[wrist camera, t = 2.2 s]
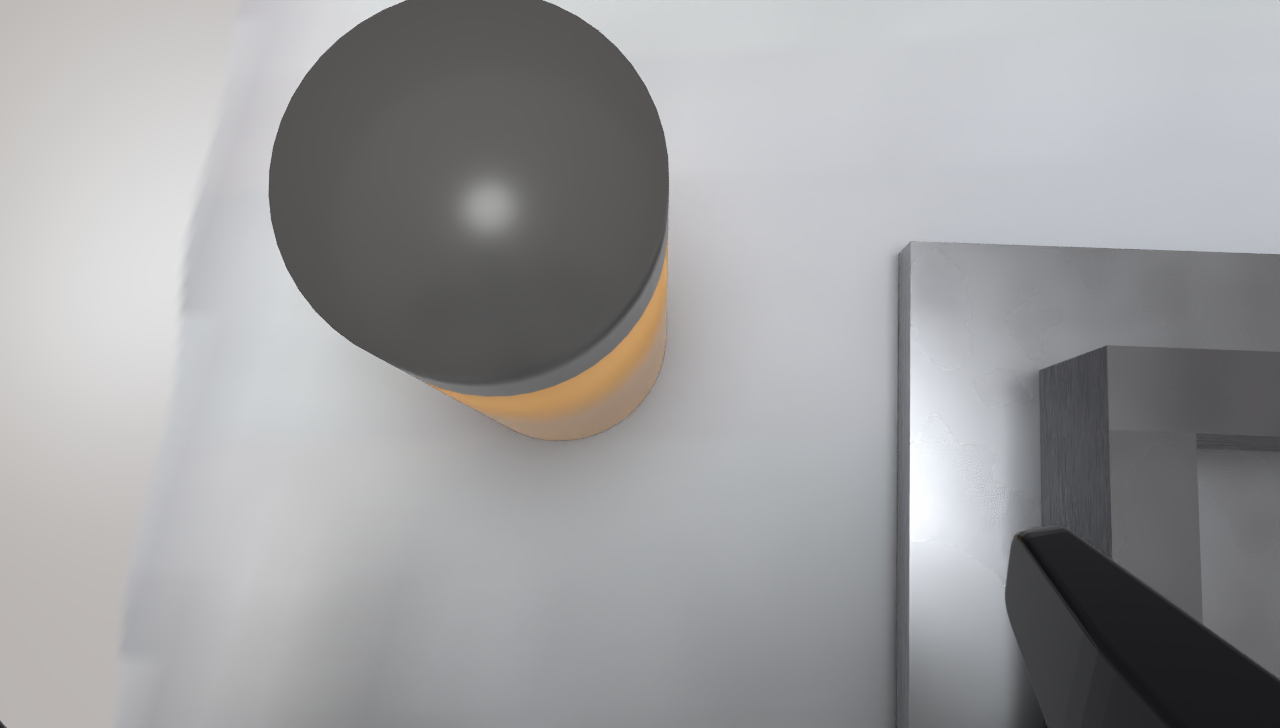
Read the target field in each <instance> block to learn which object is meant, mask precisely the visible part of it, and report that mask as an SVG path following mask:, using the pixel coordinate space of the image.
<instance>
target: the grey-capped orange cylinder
mask: <svg viewBox="0 0 1280 728" xmlns="http://www.w3.org/2000/svg"><path fill="white" fill-rule="evenodd" d="M668 202H669V172H668V154H667V148H666V142H665V136H664V131H663V128H662V125H661V122H660V119H659V115H658V112H657V109H656V107H655V105H654V103H653V100H652V98H651V96H650V94H649V92H648V90H647V88H646V86H645V84H644V83H643V81H642V80H641V78H640V76H639V75H638V73H637V72H636V70H635V69H634V67H633V66H632V64H631V63H630V62H629V61H628V60H627V59H626V57H625V56H624V55H623V54H622V53H621V52H620V50H619V49H618V48H617V47H616V46H615V45H614V44H613V43H612V42H610V41H609V40H608V39H607V38H606V37H605V36H604V35H603V34H602V33H600V32H599V31H598V30H597V29H595V28H594V27H592V26H591V25H590V24H588V23H587V22H585V21H584V20H582V19H581V18H579V17H578V16H576V15H574V14H572V13H570V12H568V11H566V10H564V9H562V8H560V7H558V6H556V5H554V4H551V3H548V2H546V1H543V0H406V1H404V2H401V3H399V4H397V5H394V6H392V7H389V8H387V9H385V10H382V11H381V12H379V13H377V14H375V15H374V16H372V17H370V18H368V19H367V20H365V21H363V22H361V23H360V24H358V25H357V26H356V27H354V28H353V29H352V30H350V31H349V32H348V33H346V34H345V35H344V36H342V37H341V38H340V39H339V40H338V41H336V42H335V43H334V44H333V45H332V46H331V47H330V48H329V49H328V50H327V51H326V52H325V53H324V54H323V55H322V56H321V57H320V58H319V59H318V61H317V62H316V63H315V64H314V66H313V67H312V68H311V69H310V71H309V72H308V73H307V74H306V75H305V77H304V79H303V80H302V82H301V83H300V85H299V87H298V88H297V90H296V91H295V93H294V95H293V96H292V98H291V100H290V102H289V105H288V107H287V109H286V111H285V113H284V115H283V118H282V120H281V123H280V126H279V129H278V132H277V136H276V139H275V142H274V146H273V152H272V158H271V164H270V170H269V203H270V213H271V221H272V225H273V229H274V233H275V237H276V241H277V245H278V248H279V250H280V253H281V255H282V258H283V260H284V263H285V265H286V268H287V270H288V271H289V273H290V275H291V277H292V278H293V280H294V282H295V284H296V286H297V287H298V289H299V291H300V292H301V293H302V295H303V296H304V297H305V298H306V300H307V301H308V302H309V304H310V305H311V306H312V308H313V309H314V310H315V311H316V312H317V313H318V314H319V315H320V316H321V317H322V318H323V319H324V320H325V321H326V322H327V323H328V324H329V325H330V326H331V327H332V328H333V329H334V330H336V331H337V332H338V333H340V334H341V335H342V336H344V337H345V338H346V339H348V340H349V341H350V342H352V343H353V344H355V345H357V346H358V347H360V348H362V349H364V350H366V351H367V352H369V353H371V354H373V355H375V356H376V357H378V358H380V359H382V360H384V361H386V362H388V363H389V364H391V365H393V366H395V367H397V368H399V369H401V370H402V371H404V372H406V373H408V374H410V375H412V376H414V377H415V378H417V379H419V380H421V381H423V382H425V383H427V384H428V385H430V386H432V387H434V388H436V389H438V390H440V391H441V392H443V393H445V394H447V395H449V396H451V397H453V398H454V399H456V400H458V401H460V402H462V403H464V404H466V405H467V406H469V407H471V408H473V409H475V410H477V411H479V412H480V413H482V414H484V415H486V416H488V417H490V418H492V419H494V420H495V421H497V422H499V423H501V424H503V425H505V426H507V427H508V428H510V429H512V430H514V431H516V432H519V433H521V434H524V435H526V436H530V437H534V438H538V439H543V440H552V441H567V440H575V439H581V438H586V437H589V436H592V435H596V434H598V433H600V432H603V431H605V430H607V429H609V428H611V427H613V426H614V425H616V424H618V423H619V422H621V421H622V420H623V419H625V418H626V417H627V416H628V415H630V414H631V413H632V412H633V411H634V410H635V409H636V408H637V407H638V406H639V405H640V404H641V403H642V401H643V400H644V399H645V397H646V396H647V395H648V393H649V392H650V390H651V388H652V387H653V385H654V383H655V381H656V379H657V377H658V374H659V372H660V369H661V366H662V362H663V358H664V354H665V346H666V322H667V262H668Z"/></svg>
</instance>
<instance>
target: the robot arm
mask: <svg viewBox="0 0 1280 728" xmlns="http://www.w3.org/2000/svg"><path fill="white" fill-rule="evenodd" d="M1005 605H1006V610H1007V614H1008V618H1009V621H1010V624H1011V627H1012V629H1013V632H1014V635H1015V638H1016V640H1017V643H1018V646H1019V649H1020V652H1021V654H1022V657H1023V660H1024V663H1025V665H1026V668H1027V671H1028V674H1029V676H1030V679H1031V682H1032V685H1033V688H1034V690H1035V693H1036V696H1037V699H1038V701H1039V704H1040V707H1041V710H1042V712H1043V715H1044V718H1045V721H1046V724H1047V726H1048V728H1280V679H1279V678H1278V677H1276V676H1275V675H1273V674H1272V673H1271V672H1269V671H1268V670H1266V669H1265V668H1264V667H1262V666H1261V665H1259V664H1258V663H1257V662H1255V661H1254V660H1252V659H1251V658H1250V657H1248V656H1247V655H1245V654H1244V653H1243V652H1241V651H1240V650H1238V649H1237V648H1236V647H1234V646H1233V645H1231V644H1230V643H1229V642H1227V641H1226V640H1224V639H1223V638H1221V637H1220V636H1219V635H1217V634H1216V633H1214V632H1213V631H1212V630H1210V629H1209V628H1207V627H1206V626H1205V625H1203V624H1202V623H1200V622H1199V621H1198V620H1196V619H1195V618H1193V617H1192V616H1191V615H1189V614H1188V613H1186V612H1185V611H1184V610H1182V609H1181V608H1179V607H1178V606H1177V605H1175V604H1174V603H1172V602H1171V601H1169V600H1168V599H1167V598H1165V597H1164V596H1162V595H1161V594H1160V593H1158V592H1157V591H1155V590H1154V589H1153V588H1151V587H1150V586H1148V585H1147V584H1146V583H1144V582H1143V581H1141V580H1140V579H1139V578H1137V577H1136V576H1134V575H1133V574H1132V573H1130V572H1129V571H1127V570H1126V569H1125V568H1123V567H1122V566H1120V565H1119V564H1118V563H1116V562H1115V561H1113V560H1112V559H1110V558H1109V557H1108V556H1106V555H1105V554H1103V553H1102V552H1101V551H1099V550H1098V549H1096V548H1095V547H1094V546H1092V545H1091V544H1089V543H1088V542H1087V541H1085V540H1084V539H1082V538H1081V537H1080V536H1078V535H1077V534H1075V533H1074V532H1073V531H1071V530H1069V529H1068V528H1065V527H1063V526H1059V525H1052V526H1046V527H1040V528H1034V529H1028V530H1023V531H1020V532H1017V533H1016V534H1015V535H1014V537H1013V538H1012V542H1011V546H1010V554H1009V562H1008V569H1007V577H1006V585H1005ZM0 728H6V726H5V725H4V724H3V723H2V722H1V721H0Z"/></svg>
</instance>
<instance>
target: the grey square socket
mask: <svg viewBox="0 0 1280 728" xmlns="http://www.w3.org/2000/svg"><path fill="white" fill-rule="evenodd" d="M1052 525H1059V526H1063V527H1065V528H1068V529H1069V530H1071V531H1073V532H1074V533H1075V534H1077V535H1078V536H1080V537H1081V538H1082V539H1084V540H1085V541H1087V542H1088V543H1089V544H1091V545H1092V546H1094V547H1095V548H1096V549H1098V550H1099V551H1101V552H1102V553H1103V554H1105V555H1106V556H1108V557H1109V558H1110V559H1112V560H1113V561H1115V562H1116V563H1118V564H1119V565H1120V566H1122V567H1123V568H1125V569H1126V570H1127V571H1129V572H1130V573H1132V574H1133V575H1134V576H1136V577H1137V578H1139V579H1140V580H1141V581H1143V582H1144V583H1146V584H1147V585H1148V586H1150V587H1151V588H1153V589H1154V590H1155V591H1157V592H1158V593H1160V594H1161V595H1162V596H1164V597H1165V598H1167V599H1168V600H1169V601H1171V602H1172V603H1174V604H1175V605H1177V606H1178V607H1179V608H1181V609H1182V610H1184V611H1185V612H1186V613H1188V614H1189V615H1191V616H1192V617H1193V618H1195V619H1196V620H1198V621H1199V622H1200V623H1202V624H1203V625H1205V626H1206V627H1207V628H1209V629H1210V630H1212V631H1213V632H1214V633H1216V634H1217V635H1219V636H1220V637H1221V638H1223V639H1224V640H1226V641H1227V642H1229V643H1230V644H1231V645H1233V646H1234V647H1236V648H1237V649H1238V650H1240V651H1241V652H1243V653H1244V654H1245V655H1247V656H1248V657H1250V658H1251V659H1252V660H1254V661H1255V662H1257V663H1258V664H1259V665H1261V666H1262V667H1264V668H1265V669H1266V670H1268V671H1269V672H1271V673H1272V674H1273V675H1275V676H1276V677H1278V678H1279V679H1280V254H1253V253H1225V252H1197V251H1169V250H1140V249H1112V248H1084V247H1056V246H1028V245H999V244H971V243H943V242H915V241H911V242H910V243H909V244H908V245H907V246H906V247H905V248H904V249H903V250H902V251H901V252H900V253H899V336H898V512H897V689H896V728H1048V726H1047V724H1046V721H1045V718H1044V715H1043V712H1042V710H1041V707H1040V704H1039V701H1038V699H1037V696H1036V693H1035V690H1034V688H1033V685H1032V682H1031V679H1030V676H1029V674H1028V671H1027V668H1026V665H1025V663H1024V660H1023V657H1022V654H1021V652H1020V649H1019V646H1018V643H1017V640H1016V638H1015V635H1014V632H1013V629H1012V627H1011V624H1010V621H1009V618H1008V614H1007V610H1006V605H1005V585H1006V577H1007V569H1008V562H1009V554H1010V546H1011V542H1012V538H1013V537H1014V535H1015V534H1016V533H1017V532H1020V531H1023V530H1028V529H1034V528H1040V527H1046V526H1052Z"/></svg>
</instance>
